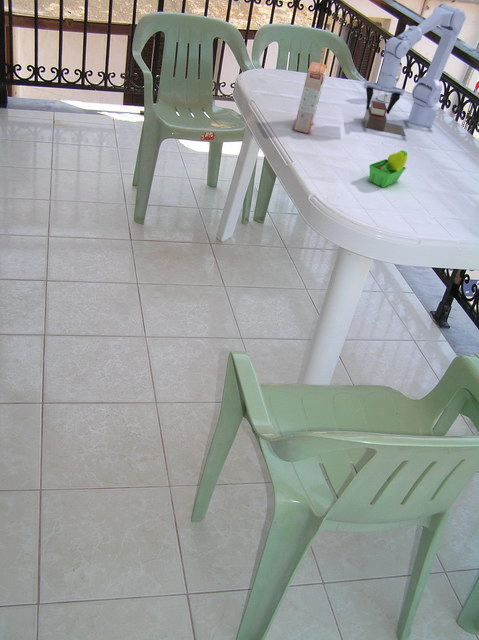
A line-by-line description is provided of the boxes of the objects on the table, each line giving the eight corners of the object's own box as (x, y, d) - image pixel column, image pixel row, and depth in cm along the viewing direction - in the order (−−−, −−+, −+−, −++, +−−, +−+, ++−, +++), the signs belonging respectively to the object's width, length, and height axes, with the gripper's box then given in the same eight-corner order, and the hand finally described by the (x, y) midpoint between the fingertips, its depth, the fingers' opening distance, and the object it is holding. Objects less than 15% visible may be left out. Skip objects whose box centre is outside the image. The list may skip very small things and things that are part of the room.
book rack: (400, 129, 261) (405, 114, 258) (404, 140, 251) (409, 124, 248) (362, 121, 261) (367, 106, 257) (364, 131, 251) (369, 115, 247)
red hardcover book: (382, 111, 256) (384, 103, 254) (384, 117, 249) (387, 109, 247) (369, 108, 256) (371, 100, 254) (371, 114, 249) (373, 106, 247)
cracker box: (309, 134, 236) (324, 73, 225) (292, 130, 237) (306, 69, 225) (313, 123, 248) (328, 64, 236) (297, 119, 248) (311, 60, 237)
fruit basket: (381, 173, 218) (391, 139, 211) (405, 184, 214) (417, 149, 207) (363, 180, 210) (374, 145, 203) (388, 191, 206) (400, 156, 199)
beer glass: (373, 97, 293) (383, 61, 285) (385, 97, 296) (396, 62, 288) (382, 102, 288) (393, 66, 280) (395, 103, 292) (406, 67, 283)
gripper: (369, 72, 241) (358, 110, 248) (409, 80, 241) (397, 118, 249) (368, 67, 247) (357, 104, 254) (407, 75, 247) (395, 112, 255)
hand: (377, 110), depth 252 cm, fingers open, 7 cm apart
